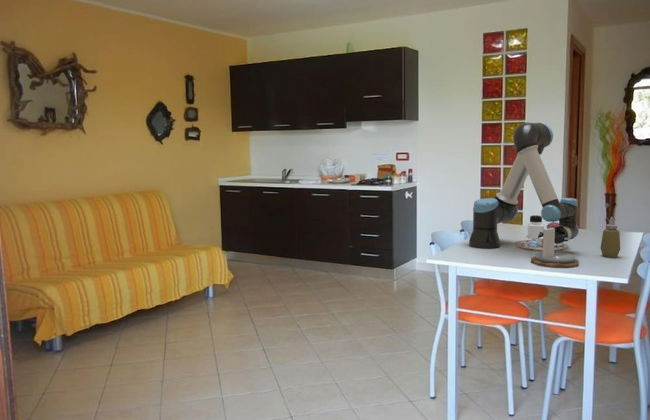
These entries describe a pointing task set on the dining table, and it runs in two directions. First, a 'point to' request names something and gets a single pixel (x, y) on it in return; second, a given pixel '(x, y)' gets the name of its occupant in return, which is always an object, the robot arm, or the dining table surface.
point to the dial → (552, 250)
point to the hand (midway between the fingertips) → (539, 241)
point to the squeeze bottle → (610, 240)
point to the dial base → (554, 265)
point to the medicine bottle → (535, 226)
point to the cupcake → (552, 225)
